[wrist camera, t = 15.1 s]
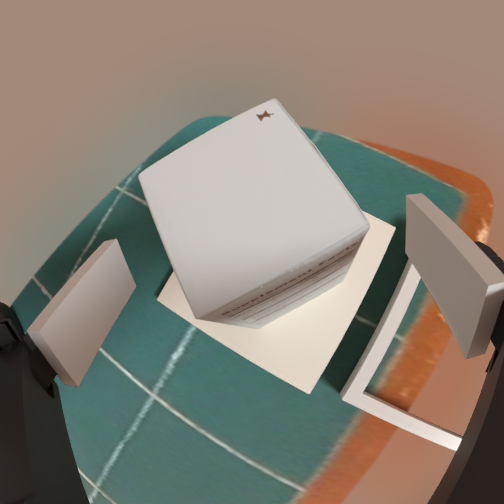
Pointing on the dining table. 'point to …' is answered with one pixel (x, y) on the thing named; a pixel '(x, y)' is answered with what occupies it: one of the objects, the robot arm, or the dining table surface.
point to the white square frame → (373, 357)
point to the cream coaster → (298, 319)
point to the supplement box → (253, 218)
